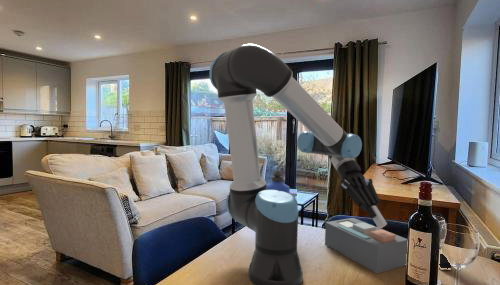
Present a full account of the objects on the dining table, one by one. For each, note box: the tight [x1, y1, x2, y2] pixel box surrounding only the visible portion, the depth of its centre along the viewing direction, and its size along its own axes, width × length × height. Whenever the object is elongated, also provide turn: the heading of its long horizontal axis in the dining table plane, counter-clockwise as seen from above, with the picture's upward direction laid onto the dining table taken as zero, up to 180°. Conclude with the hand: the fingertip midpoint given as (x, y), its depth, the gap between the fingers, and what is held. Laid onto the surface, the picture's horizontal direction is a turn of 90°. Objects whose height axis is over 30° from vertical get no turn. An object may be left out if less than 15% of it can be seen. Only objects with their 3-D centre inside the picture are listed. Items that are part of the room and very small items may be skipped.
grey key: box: [353, 221, 377, 237], centre depth 99 cm, size 5×5×3 cm
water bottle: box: [266, 170, 291, 194], centre depth 114 cm, size 9×9×25 cm
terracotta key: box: [370, 228, 395, 243], centre depth 92 cm, size 5×5×3 cm
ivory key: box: [339, 221, 354, 229], centre depth 106 cm, size 5×5×3 cm
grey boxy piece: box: [324, 217, 407, 274], centre depth 99 cm, size 23×13×8 cm, turn 25°
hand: (382, 226), depth 92 cm, fingers closed
